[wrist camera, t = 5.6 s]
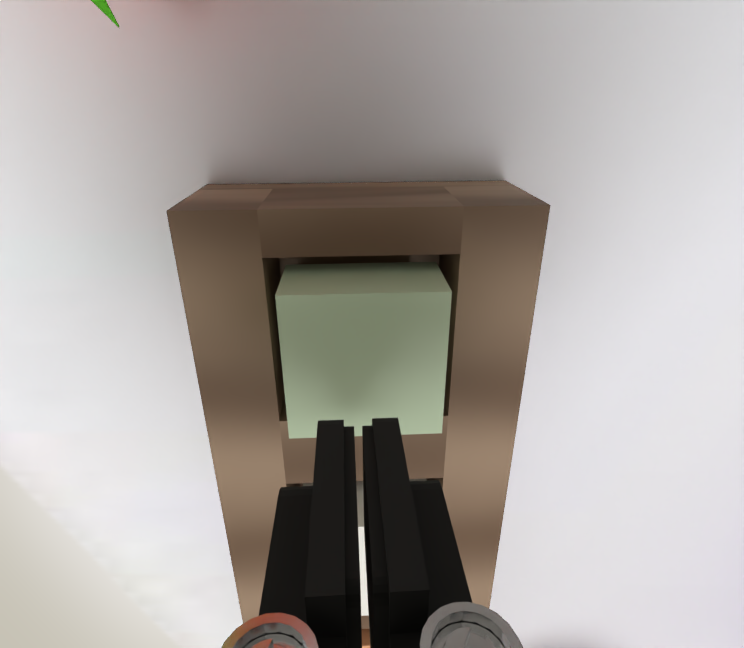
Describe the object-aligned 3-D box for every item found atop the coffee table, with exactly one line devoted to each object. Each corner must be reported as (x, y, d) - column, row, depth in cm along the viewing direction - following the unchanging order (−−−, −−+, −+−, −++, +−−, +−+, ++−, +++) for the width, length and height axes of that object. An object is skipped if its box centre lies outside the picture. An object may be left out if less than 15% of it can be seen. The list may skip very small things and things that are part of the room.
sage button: (286, 264, 14) (275, 295, 12) (435, 261, 14) (451, 291, 12) (296, 391, 16) (289, 438, 14) (429, 387, 16) (442, 433, 14)
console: (206, 184, 16) (166, 210, 12) (505, 180, 16) (550, 205, 13) (273, 638, 26) (262, 724, 23) (456, 628, 27) (473, 712, 23)
